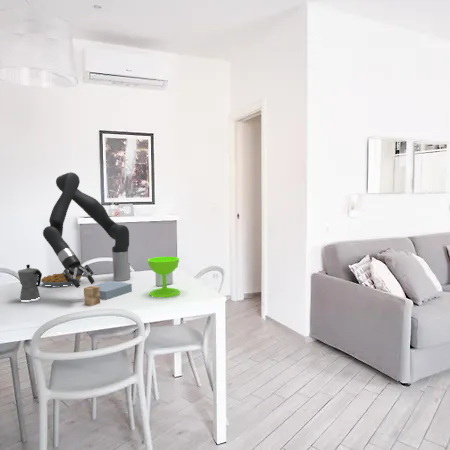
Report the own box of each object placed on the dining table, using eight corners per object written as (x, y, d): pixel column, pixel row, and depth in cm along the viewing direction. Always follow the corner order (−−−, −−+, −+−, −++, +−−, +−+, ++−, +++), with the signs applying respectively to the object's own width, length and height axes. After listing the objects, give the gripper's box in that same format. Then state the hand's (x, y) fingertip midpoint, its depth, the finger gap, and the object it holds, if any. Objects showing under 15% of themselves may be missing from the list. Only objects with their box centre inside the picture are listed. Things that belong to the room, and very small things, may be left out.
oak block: (92, 301, 191) (92, 285, 191) (100, 303, 189) (99, 286, 188) (84, 304, 187) (83, 288, 186) (92, 305, 184) (91, 289, 184)
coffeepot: (12, 301, 195) (10, 265, 194) (29, 296, 204) (26, 262, 202) (34, 304, 189) (32, 267, 187) (50, 299, 197) (48, 263, 196)
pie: (54, 279, 244) (54, 271, 243) (88, 279, 241) (87, 271, 241) (33, 288, 222) (33, 279, 221) (70, 288, 219) (69, 279, 219)
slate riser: (110, 287, 218) (109, 280, 217) (131, 291, 210) (131, 283, 210) (84, 295, 202) (83, 288, 202) (106, 299, 194) (106, 291, 194)
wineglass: (183, 289, 211) (181, 256, 209) (176, 297, 195) (175, 262, 194) (154, 289, 213) (152, 256, 211) (145, 297, 197) (143, 262, 195)
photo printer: (169, 282, 228) (168, 261, 227) (174, 283, 225) (173, 262, 224) (154, 285, 221) (153, 264, 220) (159, 286, 218) (158, 265, 217)
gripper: (59, 256, 186) (77, 283, 181) (83, 252, 198) (101, 276, 193) (53, 266, 189) (70, 293, 184) (77, 262, 201) (94, 286, 196)
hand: (86, 284), depth 189 cm, fingers open, 8 cm apart
